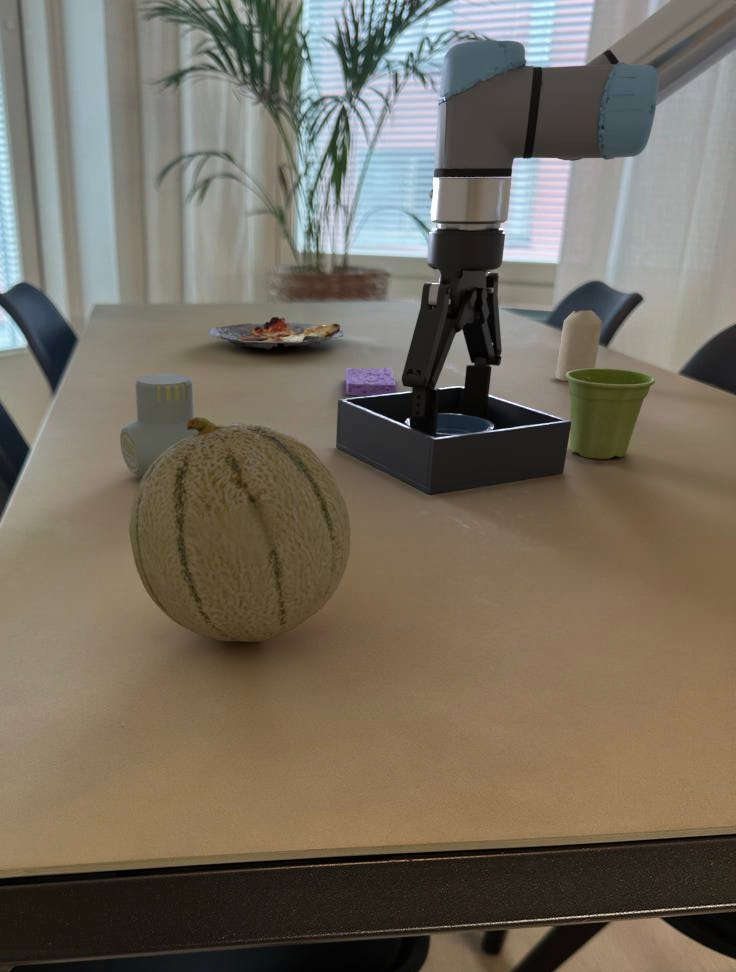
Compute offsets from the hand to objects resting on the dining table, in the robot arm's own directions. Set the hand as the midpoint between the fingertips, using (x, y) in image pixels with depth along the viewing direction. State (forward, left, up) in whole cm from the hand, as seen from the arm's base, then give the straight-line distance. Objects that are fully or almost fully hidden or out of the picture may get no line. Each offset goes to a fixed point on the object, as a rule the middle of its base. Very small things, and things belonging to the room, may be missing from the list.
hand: (448, 436), depth 101 cm
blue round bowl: (0, 0, -2) cm, 2 cm away
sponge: (+36, -12, -3) cm, 38 cm away
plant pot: (-5, -17, -3) cm, 18 cm away
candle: (+28, -44, -3) cm, 52 cm away
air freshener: (+8, +30, -3) cm, 31 cm away
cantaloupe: (-29, +38, -3) cm, 48 cm away
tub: (0, 0, -3) cm, 3 cm away
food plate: (+76, -16, -3) cm, 78 cm away
